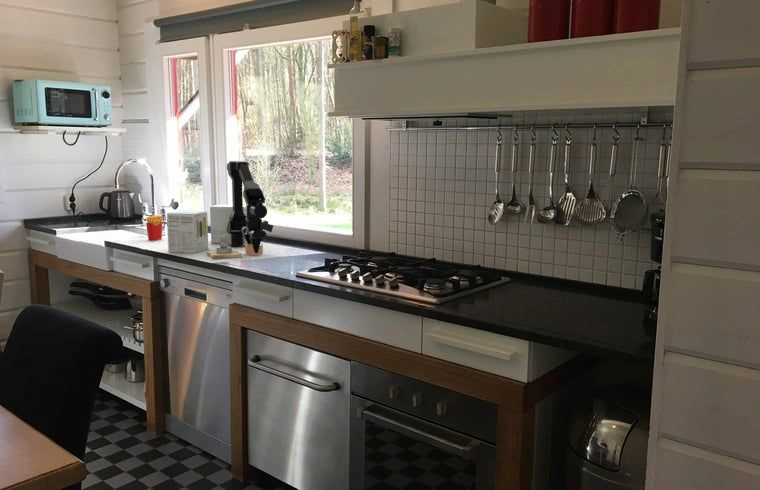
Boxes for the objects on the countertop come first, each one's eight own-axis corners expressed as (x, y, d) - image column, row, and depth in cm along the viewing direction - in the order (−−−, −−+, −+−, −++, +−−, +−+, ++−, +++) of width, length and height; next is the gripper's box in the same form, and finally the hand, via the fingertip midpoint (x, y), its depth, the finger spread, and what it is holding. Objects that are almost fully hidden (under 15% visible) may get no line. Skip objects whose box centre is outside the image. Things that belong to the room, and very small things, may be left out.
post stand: (207, 254, 276) (206, 235, 274) (234, 252, 281) (234, 233, 280) (213, 259, 265) (212, 239, 264) (241, 257, 270) (241, 237, 269)
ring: (244, 253, 280) (243, 244, 280) (259, 252, 283) (259, 243, 283) (248, 255, 274) (248, 246, 273) (264, 254, 277) (264, 245, 277)
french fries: (150, 241, 313) (149, 216, 312) (145, 240, 316) (144, 216, 314) (165, 239, 320) (164, 215, 318) (160, 238, 322) (159, 214, 321)
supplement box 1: (195, 253, 279) (193, 213, 276) (167, 252, 281) (166, 212, 279) (209, 248, 292) (208, 210, 289) (182, 247, 294) (181, 209, 292)
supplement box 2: (253, 240, 319) (252, 204, 316) (245, 244, 306) (244, 206, 303) (219, 239, 321) (218, 203, 318) (210, 243, 307) (209, 206, 305)
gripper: (277, 217, 272) (278, 253, 274) (265, 213, 288) (265, 247, 290) (252, 218, 267) (253, 255, 269) (240, 214, 283) (241, 249, 285)
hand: (254, 251), depth 279 cm, fingers closed on ring, 7 cm apart
